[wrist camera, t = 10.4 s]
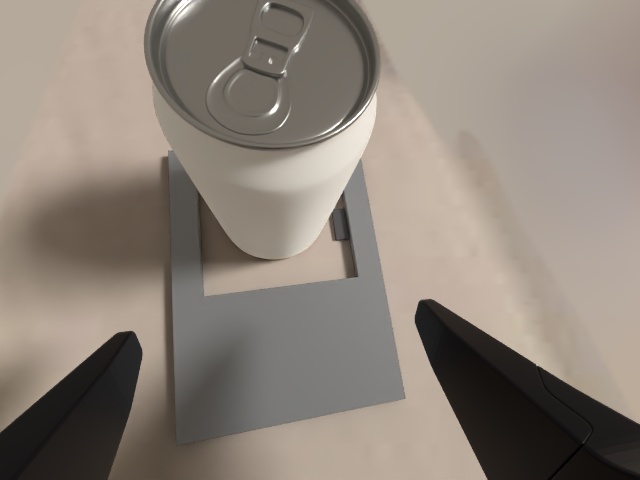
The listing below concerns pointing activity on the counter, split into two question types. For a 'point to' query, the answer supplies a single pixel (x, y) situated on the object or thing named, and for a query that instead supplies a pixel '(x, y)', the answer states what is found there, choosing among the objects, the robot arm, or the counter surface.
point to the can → (265, 109)
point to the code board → (277, 332)
